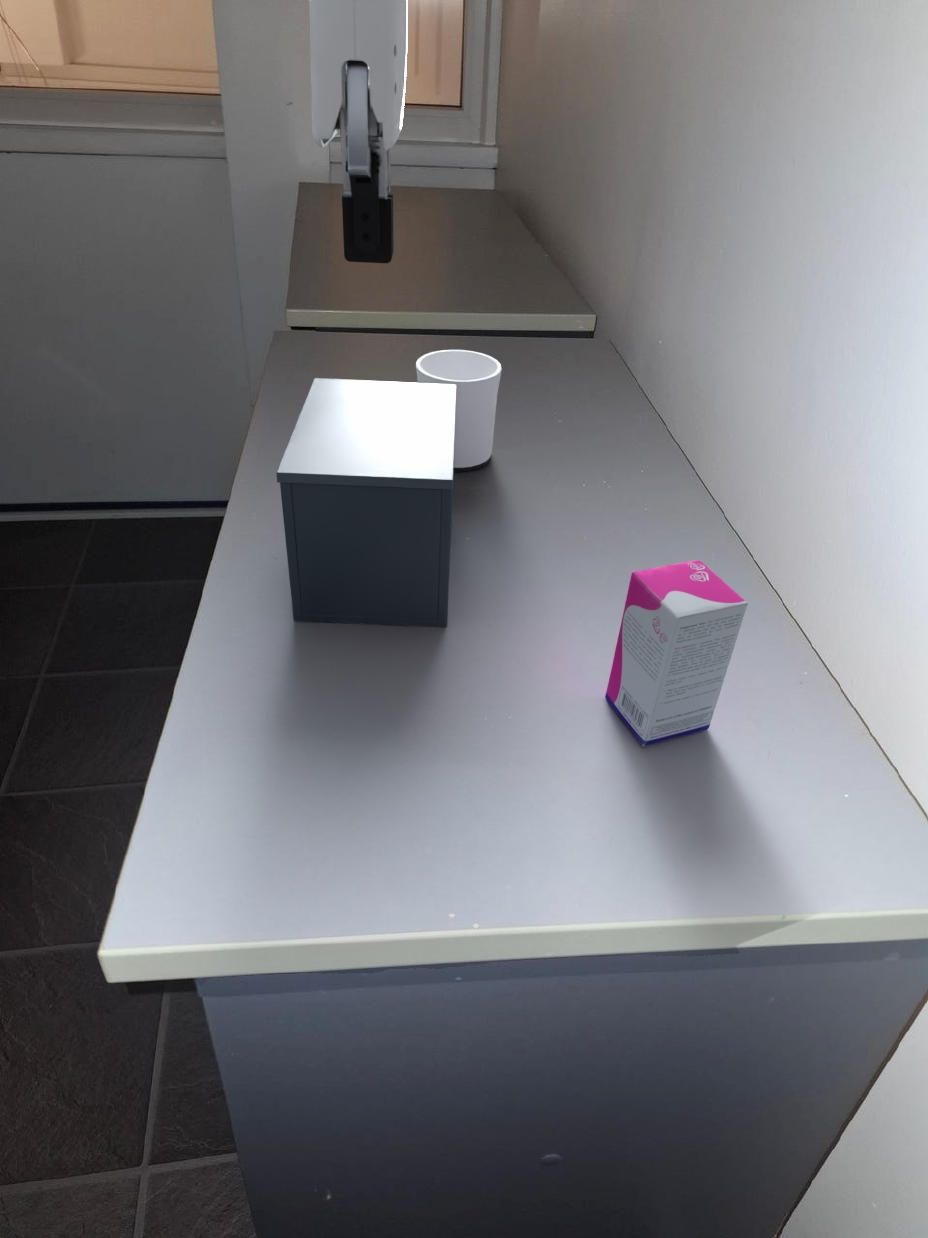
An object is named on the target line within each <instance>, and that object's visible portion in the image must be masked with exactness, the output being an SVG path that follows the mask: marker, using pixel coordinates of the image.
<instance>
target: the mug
mask: <svg viewBox="0 0 928 1238" xmlns="http://www.w3.org/2000/svg"><path fill="white" fill-rule="evenodd" d="M502 369H503V368H502V365H501V363H500V362H499V360H497V359H496V358H494V357H493V356H491V355H489V354H487V353H486V354H485V353H483V352H478V351H473V350H466V349H442V350H435V351H430V352H428V353H425V354H423V355H422V356H420V357H419V358H417V360H416V362H415V371H416V383H434V384H456V385H457V389H456V416H455V443H454V469H453V473H464V472H472V471H476V470H479V469H481V468H483V467H485V466H486V465H487V464H488V463H489V462H490V461H491V458H492V455H493V454H492V453H493V445H494V432H495V422H496V412H497V401H498V393H499V386H500V381H501V377H502V376H501V375H502Z"/></svg>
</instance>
